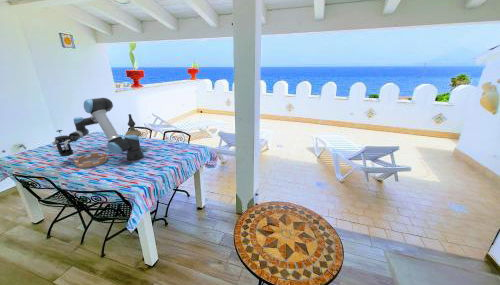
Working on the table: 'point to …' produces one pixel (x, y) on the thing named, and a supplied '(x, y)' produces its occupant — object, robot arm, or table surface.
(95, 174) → the table surface
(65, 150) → the french press
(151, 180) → the table surface
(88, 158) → the castellated ring
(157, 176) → the table surface
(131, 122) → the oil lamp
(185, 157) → the table surface
